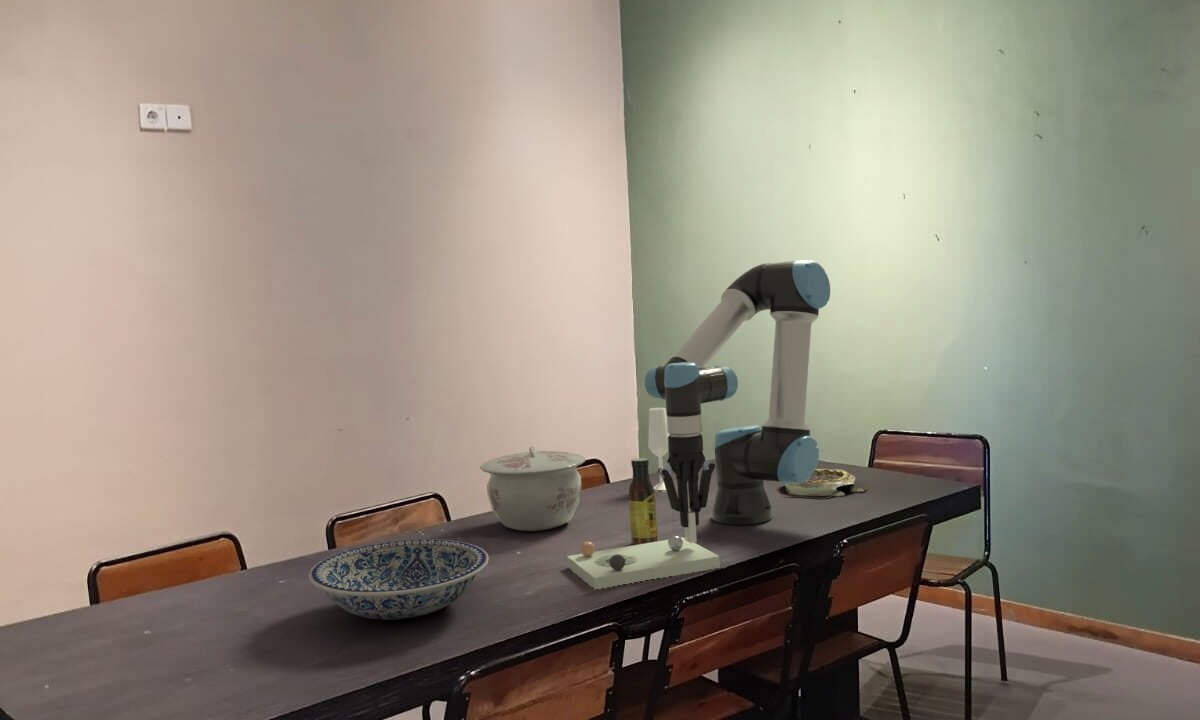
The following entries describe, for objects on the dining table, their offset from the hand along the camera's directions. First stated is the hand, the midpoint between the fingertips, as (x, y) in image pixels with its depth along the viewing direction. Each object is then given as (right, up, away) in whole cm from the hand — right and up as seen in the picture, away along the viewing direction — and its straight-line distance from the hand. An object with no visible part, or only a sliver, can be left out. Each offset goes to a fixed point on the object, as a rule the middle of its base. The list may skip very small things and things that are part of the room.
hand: (690, 540), depth 208 cm
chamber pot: (-36, -4, +41) cm, 54 cm away
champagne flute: (-1, +1, +74) cm, 74 cm away
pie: (+42, +2, +62) cm, 75 cm away
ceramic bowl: (-58, -10, -21) cm, 63 cm away
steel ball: (-3, 0, -1) cm, 4 cm away
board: (-11, -5, -3) cm, 12 cm away
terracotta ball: (-23, -2, -1) cm, 23 cm away
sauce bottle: (-9, -4, +16) cm, 19 cm away
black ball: (-16, -2, -12) cm, 21 cm away
